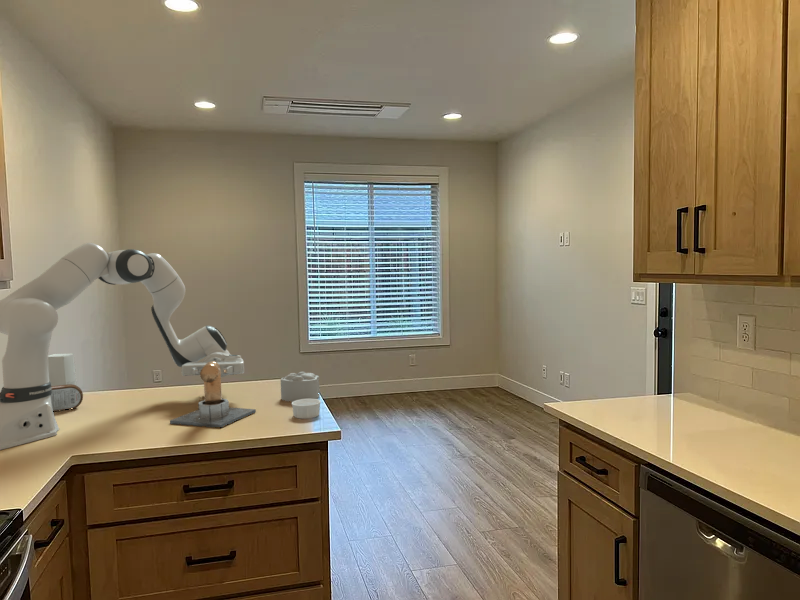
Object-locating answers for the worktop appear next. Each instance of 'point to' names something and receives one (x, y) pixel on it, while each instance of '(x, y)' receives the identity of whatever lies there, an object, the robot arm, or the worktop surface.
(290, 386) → the lumpy-topped squat cylinder
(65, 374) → the skincare box
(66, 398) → the tin
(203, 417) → the duct collar
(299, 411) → the ramekin
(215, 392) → the wooden knob peg
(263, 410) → the worktop surface
